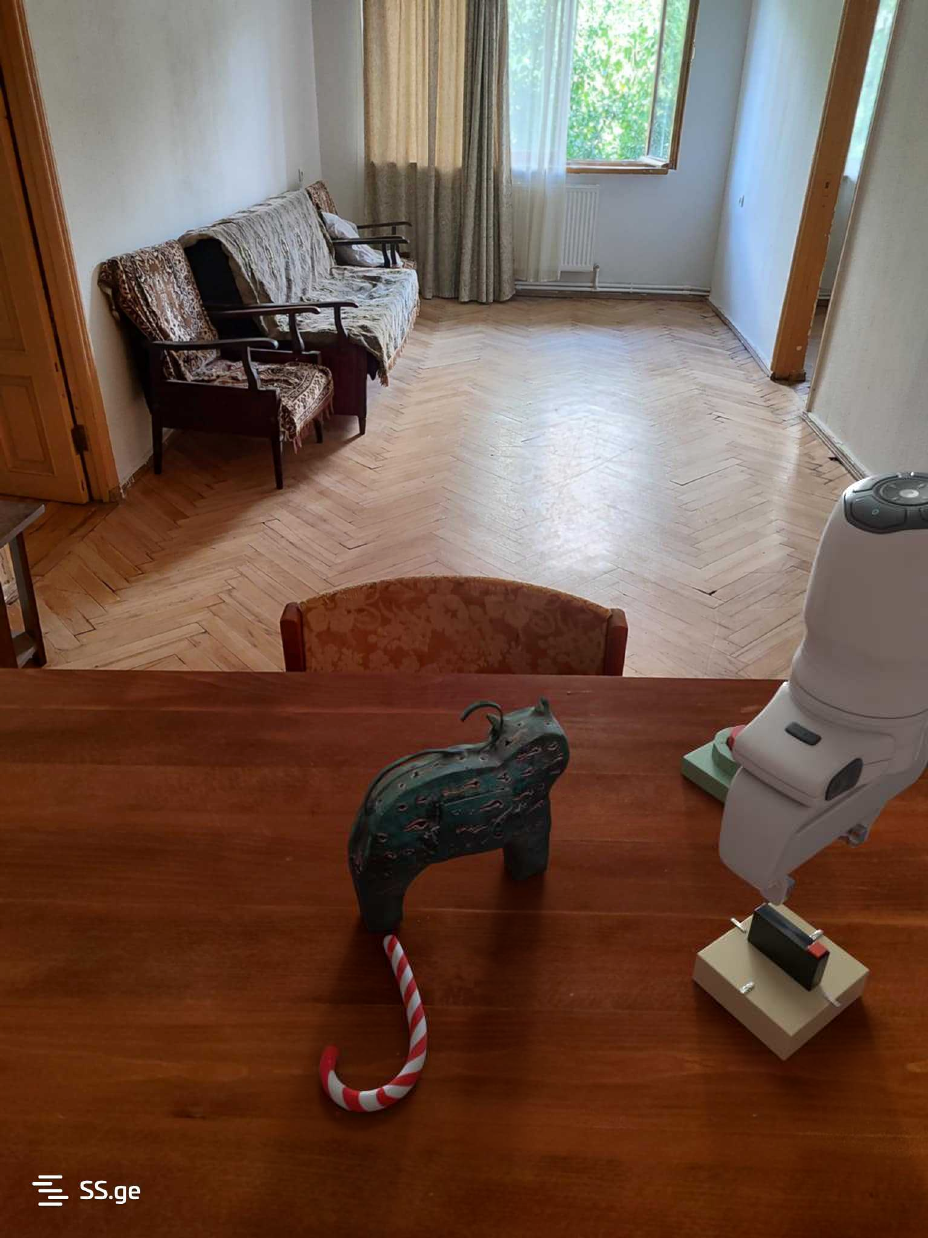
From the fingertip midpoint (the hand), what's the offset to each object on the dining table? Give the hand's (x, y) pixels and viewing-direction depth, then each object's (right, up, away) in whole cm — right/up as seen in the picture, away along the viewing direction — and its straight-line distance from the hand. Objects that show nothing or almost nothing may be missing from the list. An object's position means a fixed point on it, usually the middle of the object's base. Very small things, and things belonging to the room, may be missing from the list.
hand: (813, 867), depth 66 cm
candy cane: (-33, -13, +3) cm, 35 cm away
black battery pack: (-1, -9, +4) cm, 10 cm away
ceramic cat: (-26, -6, +15) cm, 31 cm away
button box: (+4, +2, +29) cm, 29 cm away
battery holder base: (-1, -11, +6) cm, 13 cm away
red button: (+4, +5, +27) cm, 28 cm away
